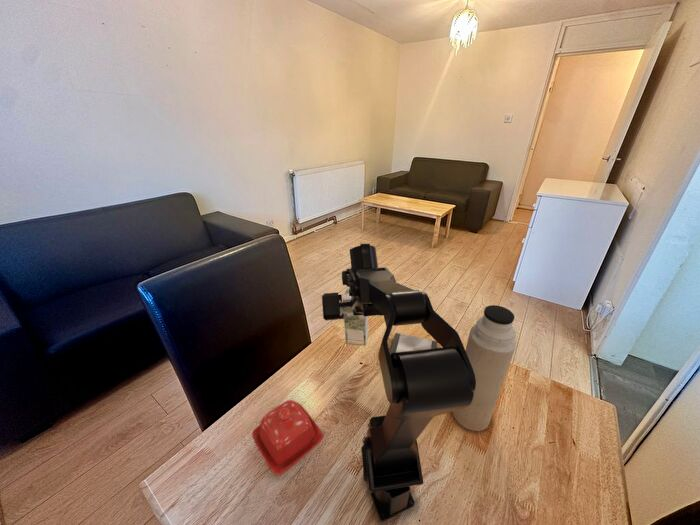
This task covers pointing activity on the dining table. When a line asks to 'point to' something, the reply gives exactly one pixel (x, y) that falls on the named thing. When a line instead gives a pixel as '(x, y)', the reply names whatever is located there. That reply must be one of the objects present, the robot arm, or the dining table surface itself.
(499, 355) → the thermos bottle
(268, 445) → the butter dish
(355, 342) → the syrup box
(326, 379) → the dining table surface
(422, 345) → the scale
